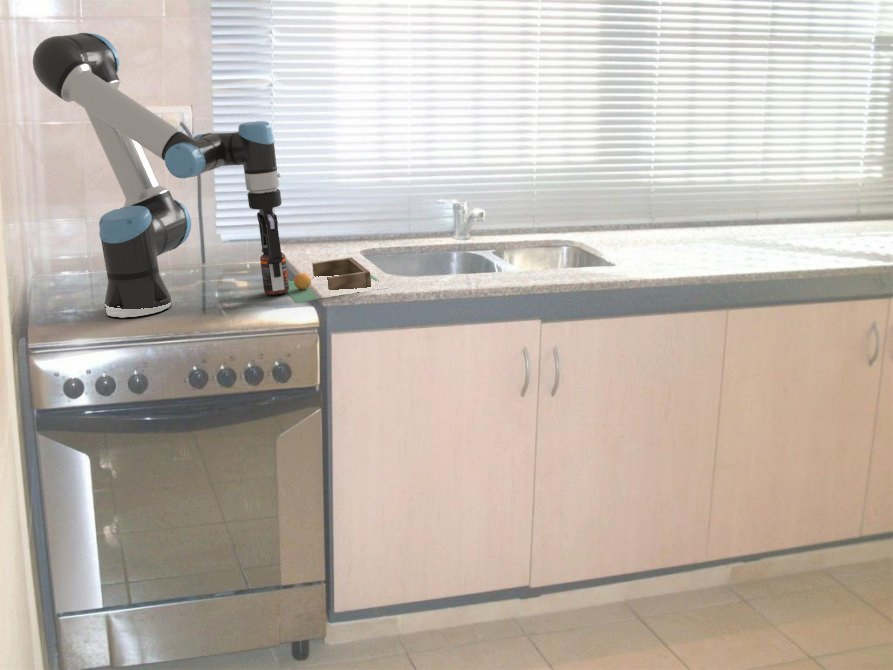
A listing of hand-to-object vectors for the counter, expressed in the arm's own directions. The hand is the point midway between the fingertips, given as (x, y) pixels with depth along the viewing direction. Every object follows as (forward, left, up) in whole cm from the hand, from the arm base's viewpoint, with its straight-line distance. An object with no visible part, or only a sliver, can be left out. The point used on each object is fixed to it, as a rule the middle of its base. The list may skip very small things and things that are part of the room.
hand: (276, 286), depth 264 cm
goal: (+15, 0, -2) cm, 16 cm away
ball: (+6, 0, -2) cm, 7 cm away
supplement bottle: (0, 0, -1) cm, 1 cm away
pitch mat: (+13, 0, -2) cm, 14 cm away
